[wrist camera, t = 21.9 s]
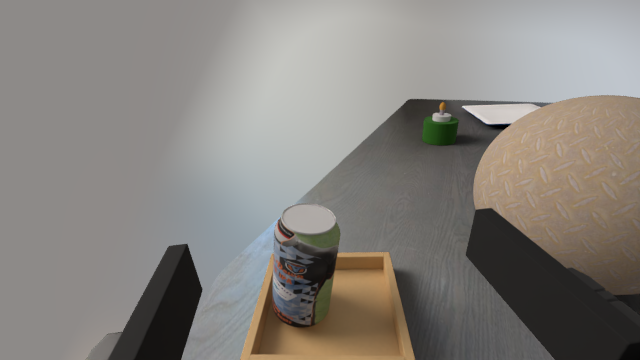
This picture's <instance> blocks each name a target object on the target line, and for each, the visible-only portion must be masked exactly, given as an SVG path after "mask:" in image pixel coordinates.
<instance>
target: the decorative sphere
mask: <svg viewBox="0 0 640 360" xmlns="http://www.w3.org/2000/svg"><path fill="white" fill-rule="evenodd" d="M474 204H475V209H476V210H477V209H485V208H492V209H493V210H495V211H496V212H497V213H498V214H500V215H501V216H502V217H503V218H505V219H506V220H507V221H508V222H510V223H511V224H512V225H513V226H515V227H516V228H517V229H518V230H520V231H521V232H522V233H523V234H525V235H526V236H527V237H528V238H530V239H531V240H532V241H533V242H535V243H536V244H537V245H538V246H540V247H541V248H542V249H543V250H545V251H546V252H547V253H548V254H550V255H551V256H552V257H553V258H555V259H556V260H557V261H558V262H560V263H561V264H562V265H563V266H564V267H566V268H571V267H572V268H574V269H576V270H578V271H580V272H582V273H584V274H586V275H587V276H589V277H591V278H592V279H593V280H595V281H596V282H597V283H599V284H600V285H601V286H603V287H604V288H605V290H606V291H609V292H610V293H612V294H613V295H631V294H640V98H634V97H627V96H613V95H612V96H611V95H610V96H609V95H601V96H588V97H579V98H574V99H569V100H564V101H560V102H556V103H553V104H550V105H547V106H544V107H542V108H539V109H537V110H535V111H533V112H530V113H528V114H527V115H525V116H523V117H521V118H520V119H518V120H516V121H515V122H514V123H512V124H511V125H510V126H508V127H507V128H506V129H505V130H503V131H502V132H501V133H500V134H499V135H498V136H497V137H496V138H495V139H494V141H493V142H492V143H491V144H490V146H489V147H488V148H487V150H486V151H485V153H484V155H483V157H482V158H481V161H480V163H479V165H478V168H477V171H476V175H475V180H474Z"/></svg>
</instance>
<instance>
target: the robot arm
mask: <svg viewBox="0 0 640 360" xmlns="http://www.w3.org/2000/svg"><path fill="white" fill-rule="evenodd" d="M466 256H467V257H468V258H469V260H470V261H471V262H472V263H473V264H474V265H475V267H476V268H477V269H478V270H479V271H480V272H481V274H482V275H483V276H484V277H485V278H486V279H487V281H488V282H489V283H490V284H491V285H492V286H493V288H494V289H495V290H496V291H497V292H498V293H499V295H500V296H501V297H502V298H503V299H504V301H505V302H506V303H507V304H508V305H509V306H510V308H511V309H512V310H513V311H514V312H515V313H516V315H517V316H518V317H519V318H520V319H521V320H522V322H523V323H524V324H525V325H526V326H527V327H528V329H529V330H530V331H531V332H532V333H533V334H534V336H535V337H536V338H537V339H538V340H539V341H540V343H541V344H542V345H543V346H544V347H545V348H546V350H547V351H548V352H549V353H550V354H551V355H552V357H553V358H554V359H555V360H640V315H639V314H638V313H636V312H635V311H634V310H632V309H631V308H630V307H629V306H627V305H626V304H625V303H623V302H622V301H619V300H618V298H617V297H616V296H614V295H613V294H612V293H610V292H609V291H606V290H605V288H604V287H603V286H601V285H600V284H599V283H597V282H596V281H595V280H593V279H592V278H591V277H589V276H587V275H586V274H584V273H582V272H580V271H578V270H576V269H574V268H572V267H571V268H566V267H564V266H563V265H562V264H561V263H560V262H558V261H557V260H556V259H555V258H553V257H552V256H551V255H550V254H548V253H547V252H546V251H545V250H543V249H542V248H541V247H540V246H538V245H537V244H536V243H535V242H533V241H532V240H531V239H530V238H528V237H527V236H526V235H525V234H523V233H522V232H521V231H520V230H518V229H517V228H516V227H515V226H513V225H512V224H511V223H510V222H508V221H507V220H506V219H505V218H503V217H502V216H501V215H500V214H498V213H497V212H496V211H495V210H493V209H492V208H485V209H477V210H476V212H475V216H474V221H473V225H472V229H471V234H470V238H469V243H468V247H467V252H466ZM201 293H202V287H201V284H200V281H199V278H198V275H197V272H196V269H195V266H194V263H193V260H192V257H191V254H190V251H189V248H188V245H187V244H182V245H173V246H169V247H168V248H167V250H166V252H165V254H164V256H163V258H162V260H161V261H160V264H159V265H158V267H157V269H156V271H155V272H154V275H153V276H152V278H151V280H150V282H149V284H148V286H147V287H146V289H145V291H144V293H143V295H142V297H141V298H140V300H139V302H138V304H137V306H136V308H135V310H134V311H133V313H132V315H131V317H130V320H129V321H128V323H127V324H126V326H125V328H124V330H123V332H118V333H111V334H107V335H106V336H105V337H104V338H103V339H102V340H101V341H100V342H99V343H98V344H97V345H96V346H95V347H94V348H93V349H92V350H91V352H90V354H89V355H88V357H87V359H86V360H181V358H182V355H183V351H184V348H185V345H186V342H187V339H188V335H189V332H190V329H191V326H192V322H193V319H194V316H195V313H196V309H197V306H198V303H199V300H200V297H201Z"/></svg>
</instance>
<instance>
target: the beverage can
mask: <svg viewBox="0 0 640 360" xmlns="http://www.w3.org/2000/svg"><path fill="white" fill-rule="evenodd" d="M339 240H340V229H339V227H338V224H337V223H336V218H335V215H334V214H333V213H332V212H331V211H330V210H329V209H327V208H325V207H323V206H320V205H317V204H310V203H301V204H295V205H292V206H290V207H288V208H286V209H285V210H284V211H283V213H282V216H281V218H280V219H279V220H278V222H277V223H276V225H275V230H274V259H273V291H272V307H273V311H274V313H275V315H276V316H277V317H278V318H279V319H280V320H281V321H282V322H283V323H285V324H287V325H289V326H292V327H297V328H305V327H310V326H314V325H316V324H318V323H319V322H320V321H322V320H323V319H324V318H325V316H326V315H327V313H328V310H329V306H330V299H331V292H332V286H333V279H334V273H335V266H336V260H337V253H338V247H339Z"/></svg>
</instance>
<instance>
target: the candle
mask: <svg viewBox="0 0 640 360" xmlns="http://www.w3.org/2000/svg"><path fill="white" fill-rule="evenodd" d="M445 109H446V105H445V103H444V102H442V103H441V105H440V113H435V114H433V116H430V117H427V118H425V119H424V126H423V136H422V140H423V141H424V142H425V143H428V144H432V145H450V144H453V143H455V141H456V134H457V128H458V121H459V120H458V119H457V118H454V117H451V115H450V114H447V113H444V111H445Z"/></svg>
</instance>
